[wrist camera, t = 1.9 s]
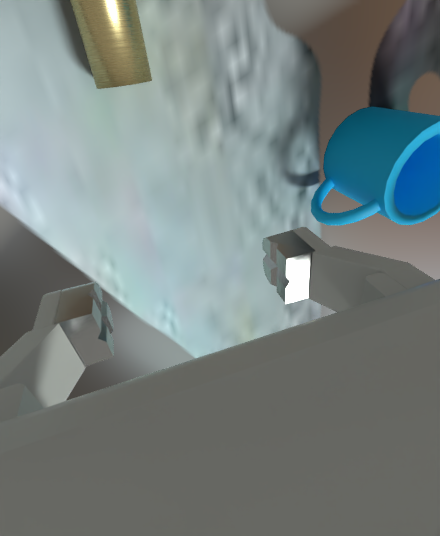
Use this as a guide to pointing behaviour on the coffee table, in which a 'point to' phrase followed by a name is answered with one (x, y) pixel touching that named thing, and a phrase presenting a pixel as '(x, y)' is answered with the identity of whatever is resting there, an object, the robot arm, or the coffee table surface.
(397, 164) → the mug
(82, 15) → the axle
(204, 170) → the coffee table surface
